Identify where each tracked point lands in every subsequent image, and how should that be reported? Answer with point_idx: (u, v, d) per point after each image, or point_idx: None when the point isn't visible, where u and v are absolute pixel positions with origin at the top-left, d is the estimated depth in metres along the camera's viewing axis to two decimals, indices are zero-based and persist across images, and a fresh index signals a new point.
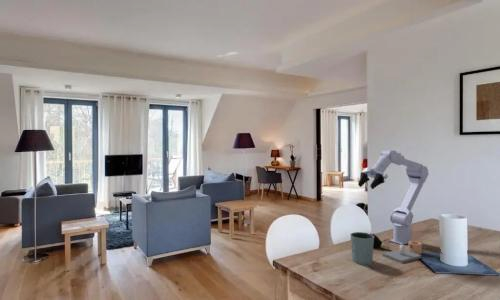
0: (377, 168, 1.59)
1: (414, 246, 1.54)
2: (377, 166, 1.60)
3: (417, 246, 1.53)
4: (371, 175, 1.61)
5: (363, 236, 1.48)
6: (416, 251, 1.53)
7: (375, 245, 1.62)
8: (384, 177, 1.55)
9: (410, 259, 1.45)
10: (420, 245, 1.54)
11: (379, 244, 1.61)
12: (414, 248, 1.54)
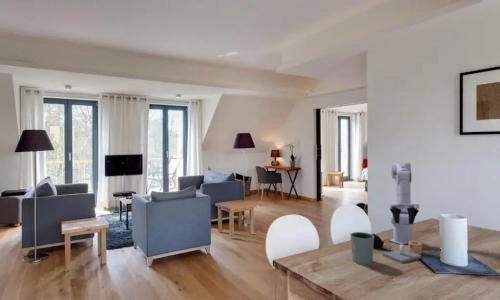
0: (403, 200, 1.51)
1: (414, 246, 1.54)
2: (402, 197, 1.52)
3: (417, 246, 1.53)
4: (401, 207, 1.54)
5: (363, 236, 1.48)
6: (416, 251, 1.53)
7: (377, 245, 1.61)
8: (416, 207, 1.47)
9: (410, 259, 1.45)
10: (420, 245, 1.54)
11: (381, 244, 1.60)
12: (414, 248, 1.54)
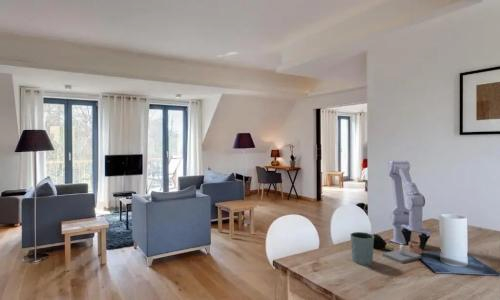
0: (415, 226, 1.53)
1: (414, 246, 1.54)
2: (414, 223, 1.53)
3: (417, 246, 1.53)
4: (413, 231, 1.56)
5: (363, 236, 1.48)
6: (416, 251, 1.53)
7: (379, 246, 1.60)
8: None
9: (410, 259, 1.45)
10: None
11: (383, 245, 1.59)
12: (414, 248, 1.54)
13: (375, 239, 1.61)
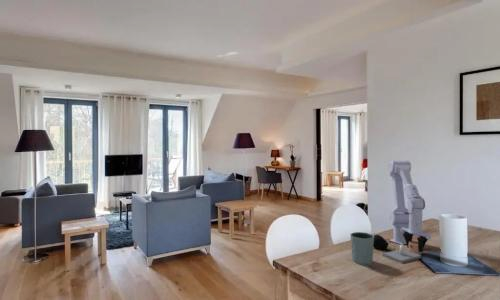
0: (415, 229, 1.53)
1: (414, 246, 1.54)
2: (414, 226, 1.53)
3: (417, 246, 1.53)
4: (413, 234, 1.56)
5: (363, 236, 1.48)
6: (416, 251, 1.53)
7: (381, 247, 1.59)
8: None
9: (410, 259, 1.45)
10: None
11: (385, 245, 1.59)
12: (414, 248, 1.54)
13: (377, 240, 1.60)
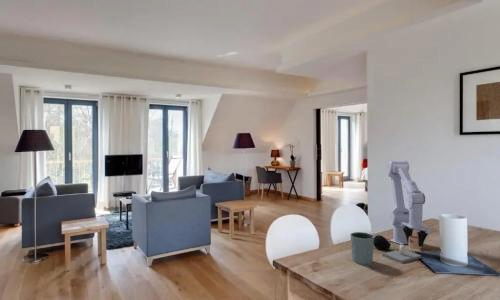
0: (415, 223, 1.53)
1: (414, 241, 1.54)
2: (414, 221, 1.53)
3: (417, 241, 1.53)
4: (413, 228, 1.56)
5: (363, 236, 1.48)
6: (416, 246, 1.53)
7: (383, 247, 1.59)
8: None
9: (410, 259, 1.45)
10: None
11: (388, 246, 1.58)
12: (414, 243, 1.54)
13: (379, 240, 1.59)
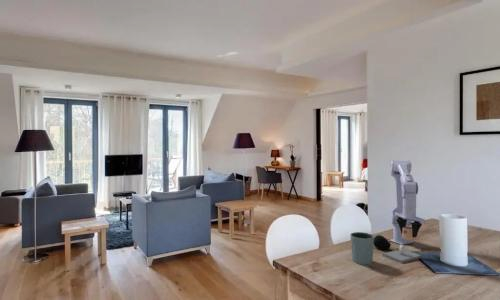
0: (409, 214, 1.50)
1: (408, 231, 1.50)
2: (407, 211, 1.50)
3: (411, 231, 1.50)
4: (406, 219, 1.53)
5: (363, 236, 1.48)
6: (410, 236, 1.50)
7: (384, 247, 1.59)
8: None
9: (410, 259, 1.45)
10: None
11: (388, 246, 1.58)
12: (408, 233, 1.50)
13: (379, 240, 1.59)
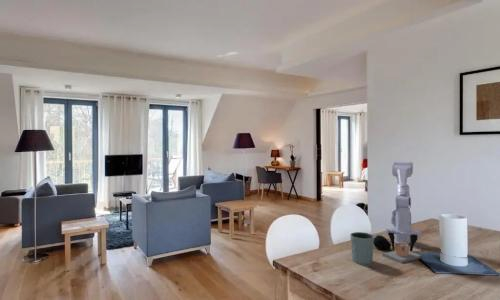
0: (407, 228, 1.47)
1: (406, 248, 1.47)
2: (406, 226, 1.47)
3: (408, 247, 1.48)
4: (400, 234, 1.50)
5: (363, 236, 1.48)
6: (407, 253, 1.48)
7: (384, 247, 1.59)
8: None
9: (410, 259, 1.45)
10: None
11: (388, 246, 1.58)
12: (406, 250, 1.47)
13: (380, 240, 1.59)
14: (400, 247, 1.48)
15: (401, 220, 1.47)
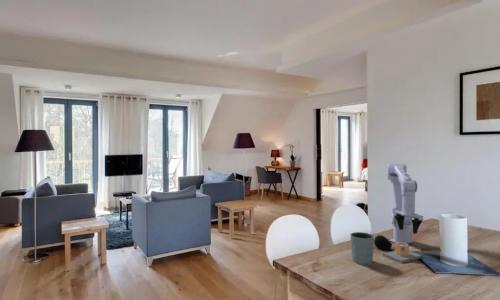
0: (408, 211, 1.56)
1: (406, 248, 1.47)
2: (407, 208, 1.57)
3: (408, 247, 1.48)
4: (406, 216, 1.60)
5: (363, 236, 1.48)
6: (407, 253, 1.48)
7: (385, 247, 1.59)
8: None
9: (410, 259, 1.45)
10: None
11: (389, 246, 1.58)
12: (406, 250, 1.47)
13: (381, 240, 1.59)
14: (400, 247, 1.48)
15: (408, 203, 1.56)
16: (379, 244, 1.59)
